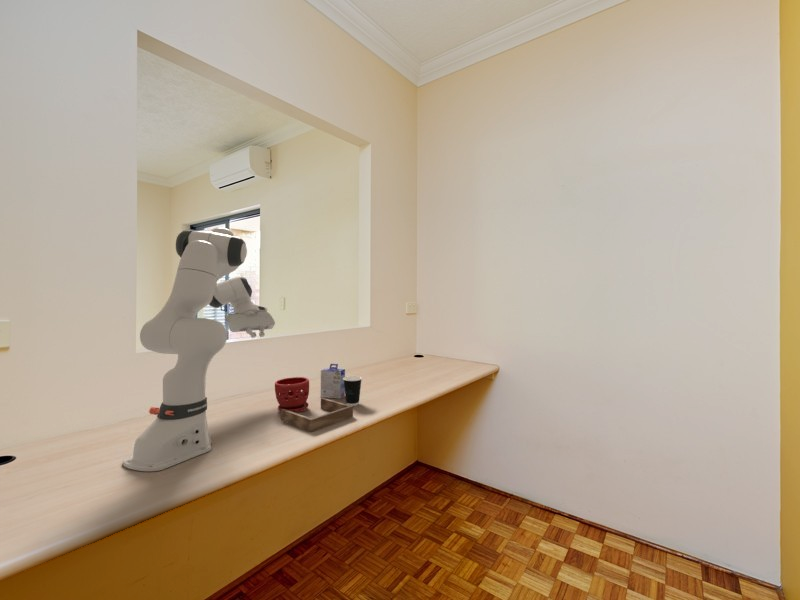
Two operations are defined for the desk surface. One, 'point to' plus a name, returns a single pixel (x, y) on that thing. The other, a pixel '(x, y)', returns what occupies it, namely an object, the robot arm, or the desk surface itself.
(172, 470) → the desk surface
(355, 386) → the dixie cup
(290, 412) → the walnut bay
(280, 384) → the plant pot
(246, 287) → the robot arm
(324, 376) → the ink cartridge box
